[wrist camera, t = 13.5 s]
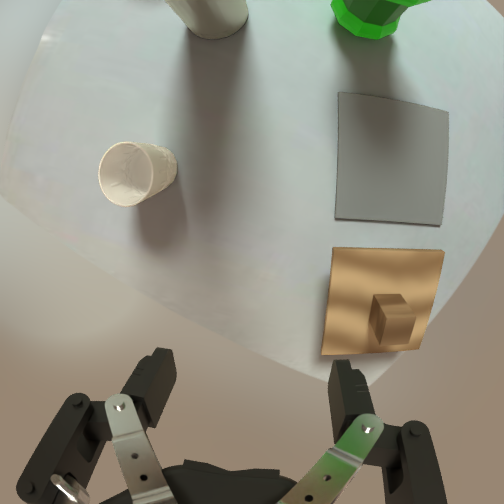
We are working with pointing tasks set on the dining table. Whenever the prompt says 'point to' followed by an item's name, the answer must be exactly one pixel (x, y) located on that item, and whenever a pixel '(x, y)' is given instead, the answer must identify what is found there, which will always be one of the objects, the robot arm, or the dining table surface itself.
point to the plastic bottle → (371, 15)
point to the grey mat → (391, 160)
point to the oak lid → (379, 299)
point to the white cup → (135, 172)
